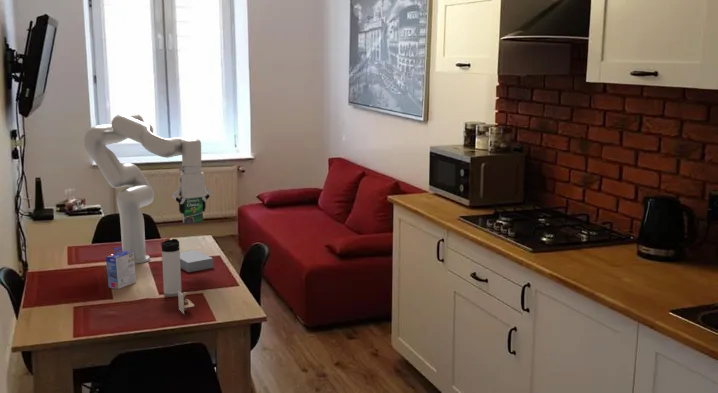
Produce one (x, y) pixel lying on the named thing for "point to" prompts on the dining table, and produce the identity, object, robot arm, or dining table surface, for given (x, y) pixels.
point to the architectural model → (181, 302)
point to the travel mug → (171, 267)
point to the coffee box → (193, 211)
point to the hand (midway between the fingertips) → (192, 211)
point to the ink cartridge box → (120, 268)
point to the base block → (195, 261)
